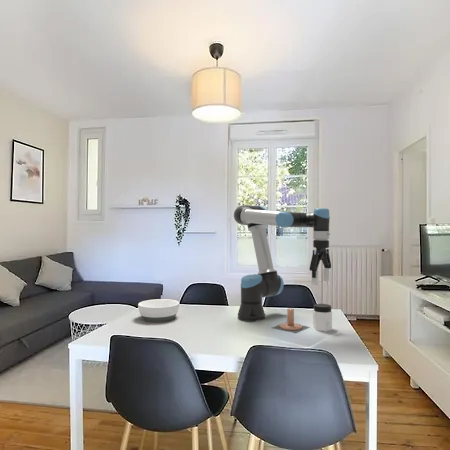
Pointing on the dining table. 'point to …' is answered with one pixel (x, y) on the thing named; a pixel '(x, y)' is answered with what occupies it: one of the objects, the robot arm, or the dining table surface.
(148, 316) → the bowl
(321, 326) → the jar
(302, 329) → the mat
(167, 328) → the dining table surface
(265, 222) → the robot arm
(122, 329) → the dining table surface
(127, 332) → the dining table surface
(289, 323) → the orange post stand
